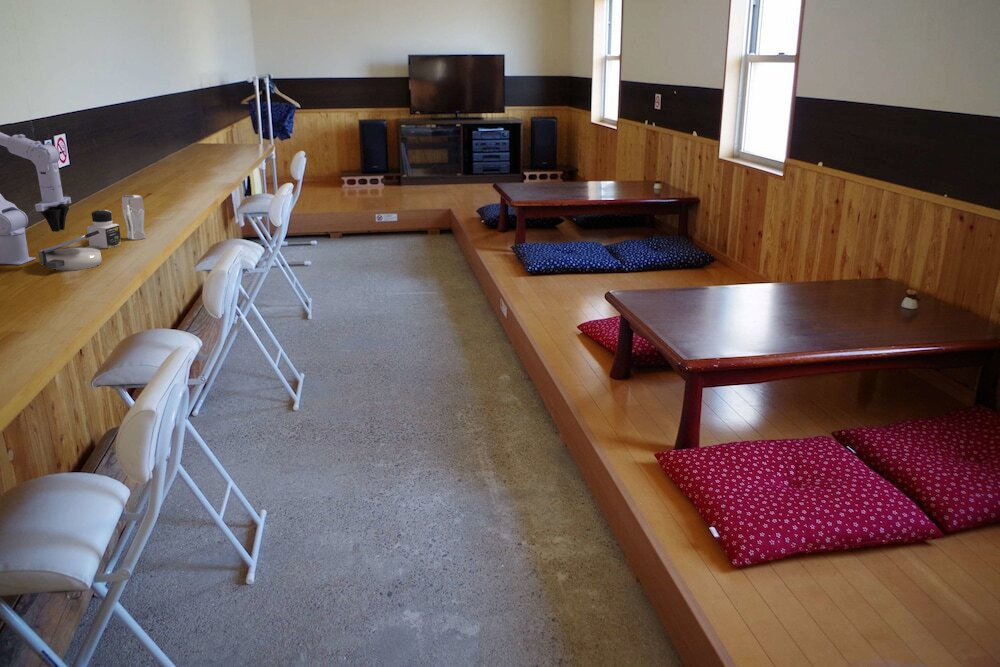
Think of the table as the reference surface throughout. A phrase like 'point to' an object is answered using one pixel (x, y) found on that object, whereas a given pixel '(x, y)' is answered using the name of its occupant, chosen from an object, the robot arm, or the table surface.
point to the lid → (70, 242)
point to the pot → (71, 258)
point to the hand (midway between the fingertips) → (58, 230)
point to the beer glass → (134, 216)
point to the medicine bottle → (104, 230)
